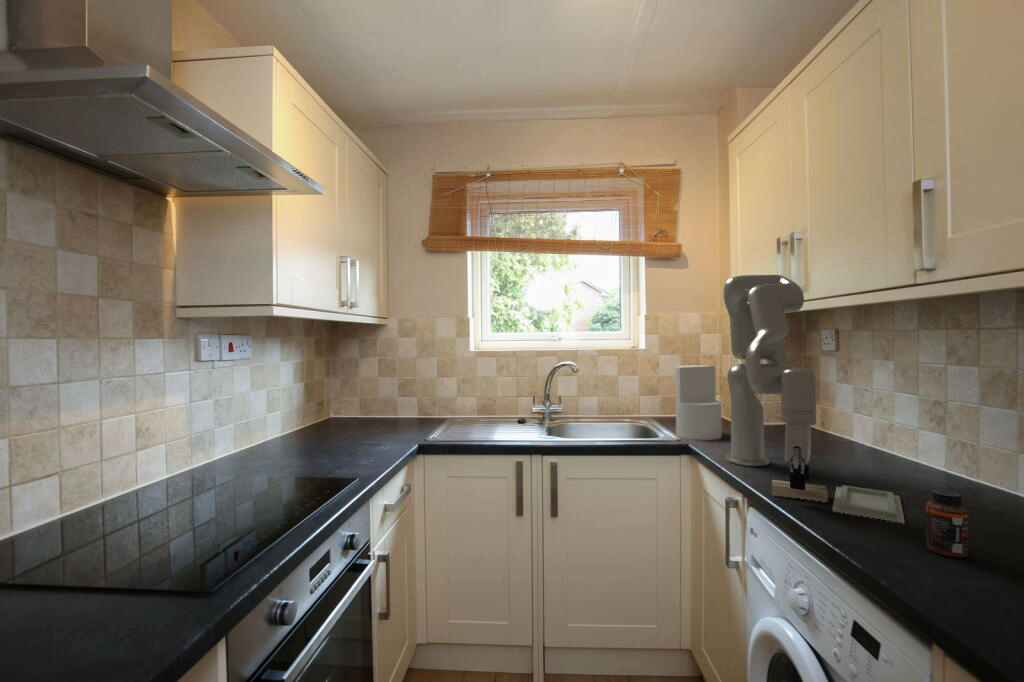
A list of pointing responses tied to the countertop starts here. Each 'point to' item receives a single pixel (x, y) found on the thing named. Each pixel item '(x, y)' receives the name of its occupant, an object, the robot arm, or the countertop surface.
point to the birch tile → (800, 491)
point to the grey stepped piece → (697, 403)
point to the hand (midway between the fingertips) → (799, 484)
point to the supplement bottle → (947, 524)
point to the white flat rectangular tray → (868, 503)
